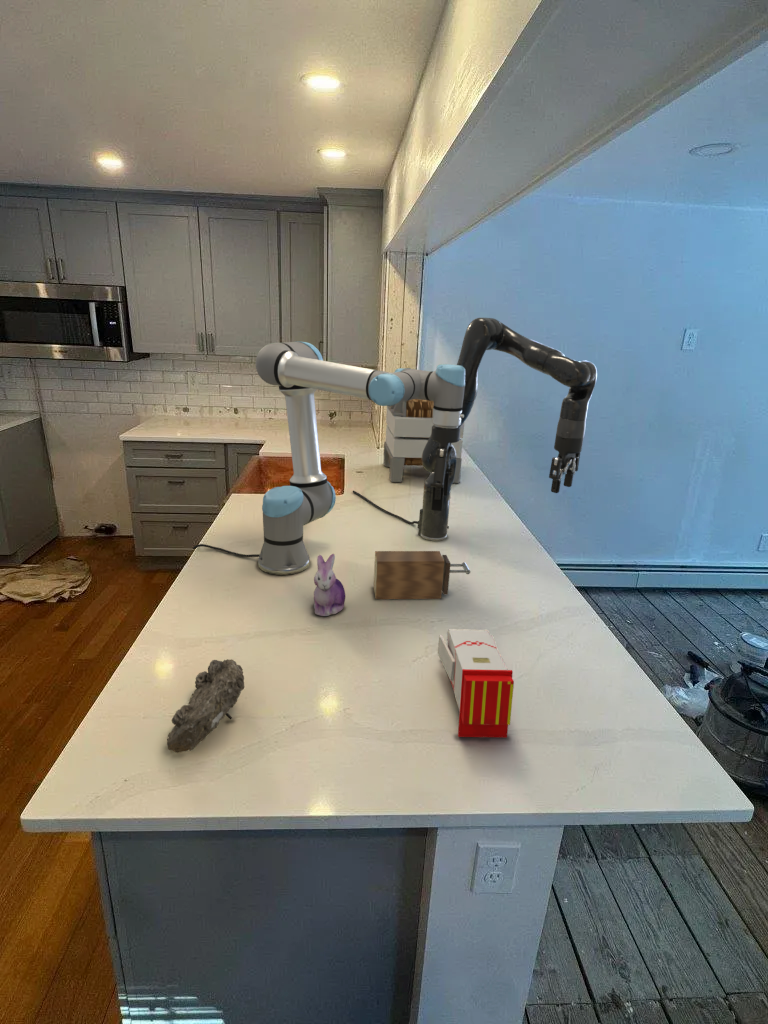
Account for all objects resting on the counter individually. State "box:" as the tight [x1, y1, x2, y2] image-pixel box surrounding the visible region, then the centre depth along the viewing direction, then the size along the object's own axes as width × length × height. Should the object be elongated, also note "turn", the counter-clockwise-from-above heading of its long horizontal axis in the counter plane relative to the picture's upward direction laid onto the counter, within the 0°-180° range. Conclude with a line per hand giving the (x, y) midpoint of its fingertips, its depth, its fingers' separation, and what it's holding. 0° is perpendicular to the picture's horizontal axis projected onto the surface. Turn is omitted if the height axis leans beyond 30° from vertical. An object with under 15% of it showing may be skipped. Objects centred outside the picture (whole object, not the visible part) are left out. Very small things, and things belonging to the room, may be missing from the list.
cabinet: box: [373, 550, 444, 600], centre depth 157 cm, size 18×7×11 cm, turn 96°
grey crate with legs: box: [383, 399, 465, 484], centre depth 268 cm, size 34×33×41 cm
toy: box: [437, 628, 515, 738], centre depth 117 cm, size 12×13×30 cm
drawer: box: [441, 554, 471, 596], centre depth 157 cm, size 23×6×10 cm, turn 96°
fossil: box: [166, 658, 245, 754], centre depth 106 cm, size 22×10×15 cm
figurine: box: [313, 553, 346, 617], centre depth 146 cm, size 9×10×15 cm
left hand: (439, 502), depth 156 cm, fingers open, 13 cm apart
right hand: (561, 489), depth 164 cm, fingers open, 8 cm apart
